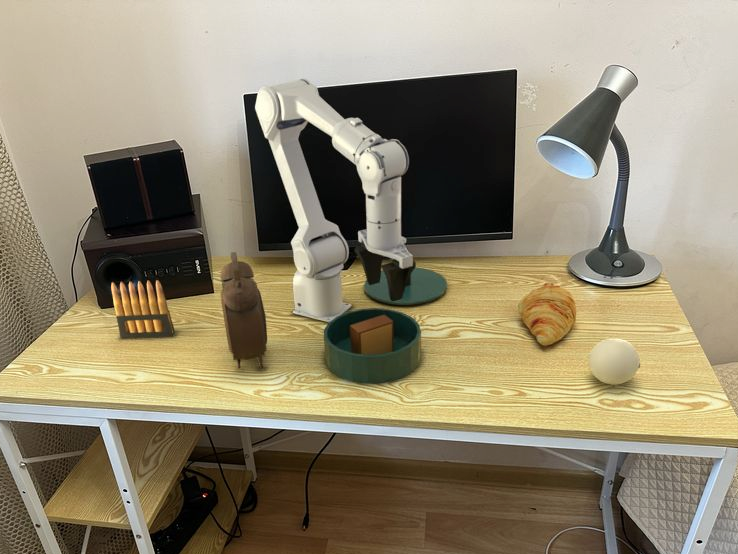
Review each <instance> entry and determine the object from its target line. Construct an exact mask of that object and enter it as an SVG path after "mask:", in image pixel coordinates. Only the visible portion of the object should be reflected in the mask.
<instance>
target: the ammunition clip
mask: <svg viewBox="0 0 738 554" xmlns="http://www.w3.org/2000/svg"><path fill="white" fill-rule="evenodd" d="M155 289H156V294H155V291H154V287H153V285H152V283H151V281H150V280H147V282H146V291H147V293H146V291H145V288H144V285H143V283H142V282H141V280H138V281H137V290H138V294H137V290H136V288H135V285H134V283H133V282H132V281H131V280H130V281H129V283H128V290H127V287H126V285H125V284H124V282H123V281H120V284H119V290H118V287H117V286H116V284H115V282H114V281H112V282H111V294H112V299H113V306H114V310H115V314H116V315H115V317H116V322H117V326H118V331H119V336H120V339H121V340H122V339H123V340H124V339H148V338H150V339H151V338H173V337H174V336H175V333H176V331H175V326H174V323H173V320H172V316H171V312H170V309H169V307H168V303H167V298H166V297H165V293H164V290H163V285H162V284H161V282H160V281H159V279H156V280H155ZM119 291H120V293H119ZM128 291H129V292H128ZM138 296H139V297H138Z"/></svg>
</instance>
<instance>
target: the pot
mask: <svg viewBox="0 0 738 554" xmlns="http://www.w3.org/2000/svg"><path fill="white" fill-rule="evenodd" d="M381 315H385V316H387V317H388V318H390V319H391V320H392V321H393V346H394V351H393V352H389V353H385V354H375V355H364V354H355V353H351V336H350V325H353V324H356V323H359V322H362V321H365V320H369V319H372V318H375V317H378V316H381ZM323 343H324V356H325V363H326V366H327V368H328V369H329V370H330V371H331V372H332V373H333V374H334V375H336V376H338V377H339V378H341V379H344V380H347V381H350V382H353V383H359V384H383V383H384V384H385V383H388V382H393V381H397V380H399V379H402V378H404V377H407V376H409V374H411V373H412V372H414V371H415V370H416V369H417V367H418V366H419V364H420V361H421V356H422V330H421V326H420V324H419V322H418V321H416V319H415V318H414V317H412V316H410V315H408V314H406V313H405V312H402V311H398V310H395V309H390V308H380V307H372V308H371V307H370V308H359V309H354V310H350V311H346V312H344V313H343V314H342V315H339V316H337V317H336V318H334V319H333V320H332V321H330V322H327V324H326V326H325V327H324V329H323Z"/></svg>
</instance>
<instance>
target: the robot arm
mask: <svg viewBox="0 0 738 554" xmlns="http://www.w3.org/2000/svg"><path fill="white" fill-rule="evenodd" d="M318 89H319V88H318V86H317V85H315V84H314V83H312V82H311V81H310V80H309V79H307V78H299V79H298V80H294V81H289V82H284V83H280V84H275V85H269V86H268V85H265V86H262V87H260V89H259V90H258V92H257V95H256V101H255V105H254V110H255V112H256V116H257V119H258V120H259V124H260V126H261V130H262V133H263V135H264V138H265V139H267V140H268V143H269V146H270V148H271V151H272V154H273V157H274V160H275V163H276V166H277V168H278V169H277V170H278V171H279V175H280V177H281V180H282V183H283V186H284V189H285V192H286V195H287V198H288V201H289V203H290V206H291V209H292V213H293V215H294V218H295V220H296V223H297V226H298V229H297V231H296V233H295V234H294V236H293V238H292V239H291V241H290V245H291V247H292V252H293V263H294V265H295V268H296V269H297V270H296V271H295V273H294V276H293V278H292V279H293V280H292V290H293V301H294V309H293V310H292V313H293V314H294V315H298V316H302V317H306V318H310V319H314V320H318V321H322V322H325V323H329V322H330V321H332V320H333V319H334V318H336V317H337V316H339V315H342V314H344V313H346V312H348V310H349V309H350V308H351V307H352V304H351V303H348V302H343V301H344V300H343V286H342V270H343V269H344V268H345V267H344V264H345V263H346V262H347V261H348V259H349V254H350V251H349V250H350V248H349V245H348V242H347V240H346V239H345V238H344V236H343V235H342V233H341V231H340V228H339V225H337V224H336V223H334V222H331V221H329V220H328V219H326V218H325V215H324V212H323V208H322V206H321V203H320V200H319V197H318V194H317V191H316V188H315V186H314V182H313V179H312V177H311V174H310V171H309V167H308V165H307V162H306V159H305V156H304V153H303V150H302V147H301V144H300V141H299V137H300V135H301V131H303V130H304V129H305V128H306V126H307V125H308V123H310V124H312V125H313V126H314V127H316V128H318V129H319V130H320V131H322V132H323V133H325V134H327V135H328V136H330V137H331V143H332V146H333V148H334V149H335V150H336V151H338V152H339V153H340V154H341V155H342V156H343V157H345V158H346V159H348V160H349V161H350V162H351V163H353V164H354V165H355V166H356V171H357V174H358V176H359V178H360V180H361V183H362V184H361V185H362V190H363V193H364V194H365V212H366V213H365V215H366V229H362V230H358V232H357V235H358V237H357V238H358V242H359V243H361V244H360V245H358V246H356V247H354V252H355V254H356V255H357V257H358V259H359V260H360V263H361V266H362V268H363V271H364V275H365V279H366V280H367V282H368V284H369V285H373V284H376V283H380V278H381V271H382V270H383V271H384V273H385V276H386V279H387V283H388V290H389V297H390V300H391V301H397V300H400V299H402V298H403V294H404V291H405V287H406V284H407V281H408V279H409V277H410V275H411V273H412V271H413V270H414V269H415V267H417V262H416V261H414V260H413V259H414V257H413V256H414V255H413V254H411V253H410V252H409V251H408V249H407V247H406V245H405V244H406V243H407V238H406V237H404V236H402V176H403V175H405V174H406V172H407V171H408V169H409V165H410V157H409V154H408V151H407V149H406V147H405V145H403V144H402V143H401V142H400V139H399V140H398V139H396V138H395V139H394V138H391V139H389V140H388V139H386V138H382V136H380V135H379V134H378V133H376V132H374V131H372V130H371V129H370V128H368V127H367V126H366V125H365V124H364V123H363V120H361V118H359V117H348V118H344V117H343V116H342V115H340V113H339V112H337V111H336V110H335V109H334V108H333V107H332V106H331V105H330V104H328V103H327V102H326V101H325V100H324V99H323V98H322V97H321V96H320V93H319V91H318ZM318 237H320V238H318ZM315 238H317V239H315ZM313 239H315V240H313ZM384 257H387V258H389V259H390V260H391V262H388V263H385V264H383V259H384Z"/></svg>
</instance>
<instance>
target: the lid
mask: <svg viewBox="0 0 738 554" xmlns="http://www.w3.org/2000/svg"><path fill="white" fill-rule="evenodd" d="M363 287H364V291H365V293H366V295H368V297H370V298H372V299H373V300H375V301H378V302H380V303H385V304H389V305H397V306H409V305H411V306H412V305H419V304H424V303H428V302H431V301H433V300H436V299H438V298H440V297H441V296H442V295H443V294H445V292H446V290H447V289H448V288H447V287H448V283H447V280H446V278H445V277H444V276H443V275H442V274H441V273H438V272H436V271H434V270H432V269H427V268H424V267H418V266H416V267H415V269H414V270H413V271H412V273H411V275H410V277H409V279H408V281H407V284H406V287H405V291H404V294H403V298H402V299H400V300H397V301H391V300H390V297H389V290H388V283H387V279H386V276H385V273H384V271H383V269H381V278H380V283H376V284H373V285H369V284H368V282H367V279H366V280H365V281H364V285H363Z"/></svg>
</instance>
